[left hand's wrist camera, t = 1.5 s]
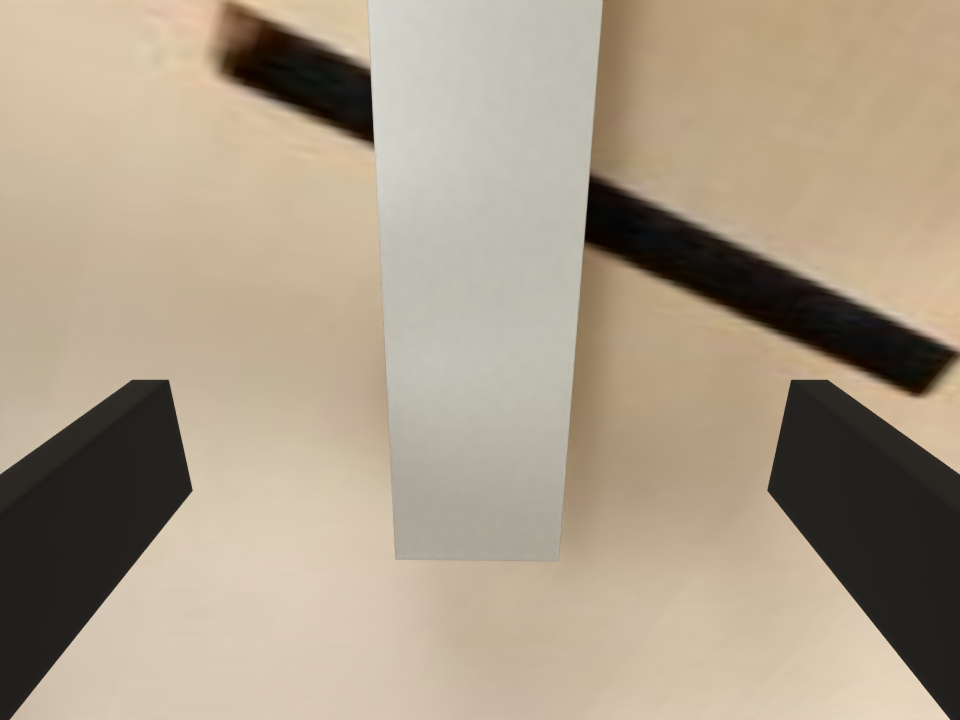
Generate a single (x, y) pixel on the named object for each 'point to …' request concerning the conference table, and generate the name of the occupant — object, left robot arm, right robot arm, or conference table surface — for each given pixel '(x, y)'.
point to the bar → (481, 263)
